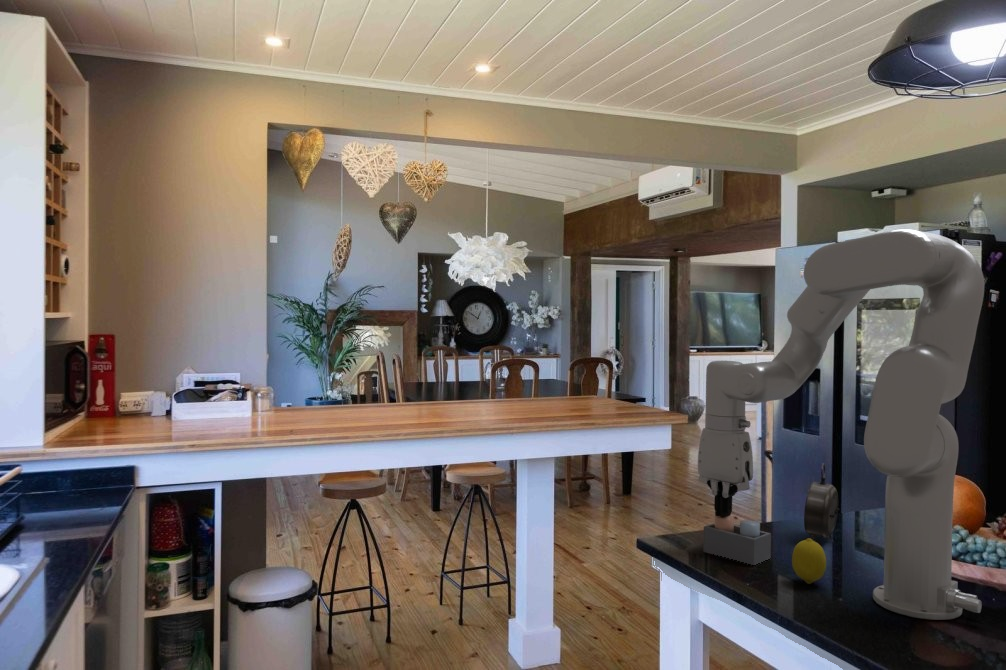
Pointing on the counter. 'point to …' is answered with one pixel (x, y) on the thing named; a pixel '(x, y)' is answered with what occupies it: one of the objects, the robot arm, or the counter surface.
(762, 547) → the grey storage bin
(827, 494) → the alarm clock
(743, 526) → the pale blue cube
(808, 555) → the lemon
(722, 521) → the peach rounded cube
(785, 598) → the counter surface
